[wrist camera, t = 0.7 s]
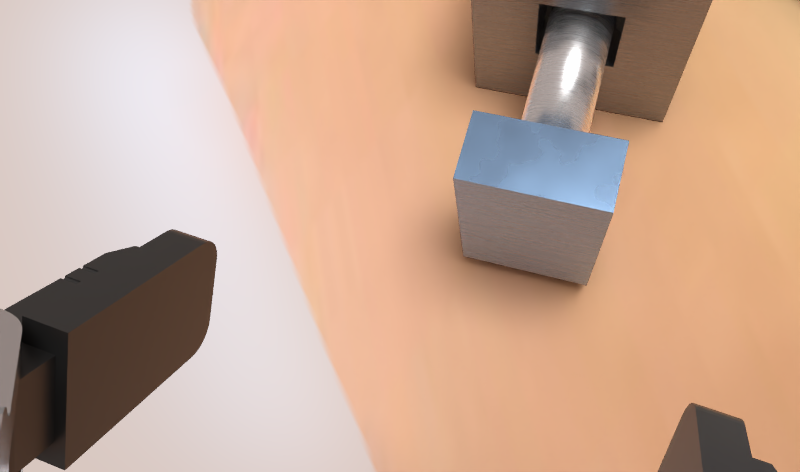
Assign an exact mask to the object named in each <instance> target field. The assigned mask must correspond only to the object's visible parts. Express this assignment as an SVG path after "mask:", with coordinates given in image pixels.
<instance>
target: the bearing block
mask: <svg viewBox="0 0 800 472" xmlns="http://www.w3.org/2000/svg"><path fill="white" fill-rule="evenodd" d="M711 3H712V0H471V4H472V23H473V43H474V62H475V81H476V87H480V88H485V89H491V90H496V91H501V92H506V93H512V94H517V95H522V96H528V93H529V89H530V86H531V82H532V78H533V74H534V71H535V67H536V63H537V60H538V56H539V52H540V49H541V45H542V41H543V38H544V34H545V30H546V27H547V23H548V19H549V15H550V12H551V8H552V6H557V7H563V8H569V9H575V10H581V11H588V12H594V13H600V14H606V15H612V16H617V17H616V22H615V26H614V30H613V34H612V38H611V43H610V47H609V51H608V55H607V59H606V64H605V68H604V72H603V76H602V81H601V85H600V89H599V93H598V97H597V102H596V106H595V109H597V110H602V111H607V112H613V113H618V114H623V115H629V116H634V117H639V118H645V119H650V120H655V121H660V122H663V120H664V117H665V115H666V112H667V110H668V107H669V105H670V103H671V100H672V98H673V95H674V93H675V90H676V88H677V85H678V83H679V81H680V78H681V76H682V73H683V71H684V68H685V66H686V64H687V61H688V59H689V56H690V54H691V51H692V49H693V46H694V44H695V42H696V39H697V37H698V34H699V32H700V29H701V27H702V25H703V22H704V20H705V17H706V15H707V12H708V10H709V7H710V5H711Z"/></svg>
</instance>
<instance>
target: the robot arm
mask: <svg viewBox="0 0 800 472" xmlns="http://www.w3.org/2000/svg"><path fill="white" fill-rule="evenodd" d="M216 260H217V250H216V246H215V245H214V243H212V242H210V241H207V240H204V239H201V238H198V237H195V236H192V235H189V234H186V233H183V232H180V231H177V230H173V229H172V230H169V231H167V232H165V233H163V234H161V235H160V236H158V237H156V238H155V239H153V240H151V241H150V242H148V243H146V244H144V245H143V246H141V247H137V246H134V247H130V248H125V249H121V250H117V251H113V252H109V253H105V254H104V255H102V256H100V257H98V258H96V259H94V260H93V261H91V262H89V263H87V264H86V265H84V266H83V268H82V269H80V268H78V269H77V270H75V271H73V272H71V273H70V274H68V275H66V276H65V278H64V279H59V280H57V281H55V282H53V283H51V284H50V285H48V286H46V287H44V288H42V289H41V290H39V291H37V292H35V293H33V294H32V295H30V296H28V297H26V298H25V299H23V300H21V301H19V302H17V303H16V304H14V305H12V306H10V307H8V308H7V309H5V310H2V309H0V472H23V468H24V467H25V466H26V465H27V464H28V463H30V462H31V461H32V460H33V459H34V458H37V459H39V460H41V461H44V462H46V463H48V464H51V465H53V466H56V467H58V468H61V469H63V470H65V469H67V468H68V467H69V466H70V465H71V464H72V463H74V462H75V461H76V460H77V459H78V458H79V457H80V456H81V455H82V454H84V453H85V452H86V451H87V450H88V449H89V448H90V447H91V446H93V445H94V444H95V443H96V442H97V441H98V440H99V439H100V438H101V437H103V436H104V435H105V434H106V433H107V432H108V431H109V430H110V429H112V428H113V427H114V426H115V425H116V424H117V423H118V422H119V421H120V420H122V419H123V418H124V417H125V416H126V415H127V414H128V413H129V412H131V411H132V410H133V409H134V408H135V407H136V406H137V405H138V404H139V403H141V402H142V401H143V400H144V399H145V398H146V397H147V396H148V395H150V394H151V393H152V392H153V391H154V390H155V389H156V388H157V387H159V386H160V385H161V384H162V383H163V382H164V381H165V380H166V379H167V378H168V377H170V376H171V375H172V374H173V373H174V372H175V371H176V370H178V369H179V368H180V367H181V366H182V365H183V364H184V363H185V362H187V361H188V360H189V359H190V358H191V357H192V356H193V355H194V354H195V353H196V352H197V350H198V349H199V347H200V346H201V344H202V342H203V340H204V338H205V335H206V333H207V329H208V326H209V321H210V312H211V304H212V295H213V287H214V278H215V268H216ZM658 472H777V471H776V469H775V468H774V467H773V465H772V464H769V463H767V462H764V461H761V460H758V459H755V458H752V455H751V451H750V446H749V442H748V437H747V432H746V428H745V424H744V421H743V420H742V419H740V418H737V417H734V416H731V415H728V414H725V413H722V412H719V411H716V410H712V409H709V408H706V407H703V406H700V405H697V404H694V403H691V404H689V405H688V406H687V408H686V409H685V411H684V413H683V415H682V417H681V420H680V422H679V424H678V426H677V429H676V431H675V433H674V436H673V438H672V440H671V443H670V445H669V447H668V449H667V452H666V454H665V456H664V459H663V461H662V463H661V465H660V468H659V470H658Z"/></svg>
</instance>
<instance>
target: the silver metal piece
mask: <svg viewBox="0 0 800 472" xmlns="http://www.w3.org/2000/svg"><path fill="white" fill-rule="evenodd" d="M616 17H617V16H612V15H606V14H600V13H594V12H588V11H581V10H575V9H569V8H563V7H557V6H552V8H551V12H550V15H549V19H548V23H547V27H546V30H545V34H544V38H543V41H542V45H541V49H540V52H539V56H538V60H537V63H536V67H535V71H534V74H533V78H532V82H531V86H530V89H529V93H528V97H527V100H526V104H525V108H524V111H523V115H522V119H521V120H520V119H515V118H510V117H505V116H500V115H495V114H490V113H484V112H479V111H474V110H473V113H472V116H471V120H470V123H469V126H468V130H467V133H466V137H465V140H464V143H463V147H462V150H461V153H460V157H459V160H458V164H457V167H456V170H455V174H454V177H453V181H454V188H455V196H456V203H457V211H458V218H459V226H460V233H461V241H462V248H463V256H465V257H469V258H473V259H478V260H482V261H486V262H490V263H494V264H499V265H503V266H507V267H511V268H515V269H520V270H524V271H528V272H532V273H536V274H541V275H545V276H549V277H553V278H557V279H562V280H566V281H570V282H574V283H578V284H583V285H587V283H588V280H589V277H590V274H591V272H592V269H593V266H594V264H595V261H596V258H597V256H598V253H599V250H600V248H601V245H602V242H603V240H604V237H605V234H606V231H607V229H608V226H609V223H610V221H611V218H612V215H613V212H614V208H615V203H616V199H617V194H618V190H619V185H620V180H621V176H622V171H623V167H624V162H625V157H626V153H627V148H628V144H629V141H628V140H623V139H618V138H612V137H607V136H602V135H597V134H592V133H589V131H590V127H591V123H592V118H593V114H594V110H595V106H596V102H597V97H598V93H599V89H600V85H601V81H602V76H603V72H604V68H605V64H606V59H607V55H608V51H609V47H610V43H611V38H612V34H613V30H614V26H615V22H616Z"/></svg>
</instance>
